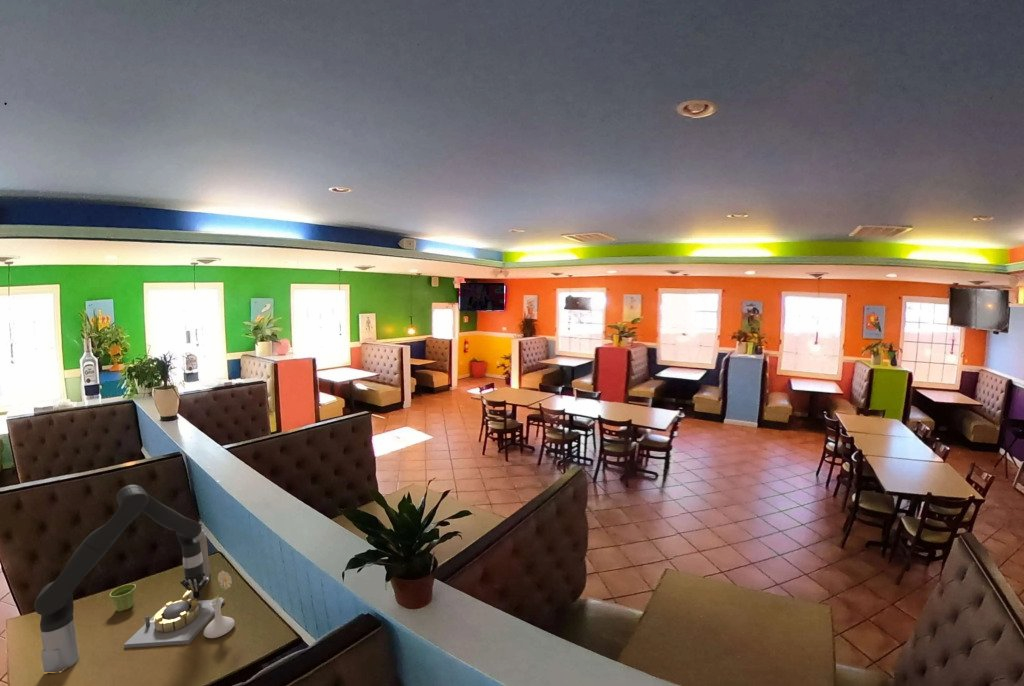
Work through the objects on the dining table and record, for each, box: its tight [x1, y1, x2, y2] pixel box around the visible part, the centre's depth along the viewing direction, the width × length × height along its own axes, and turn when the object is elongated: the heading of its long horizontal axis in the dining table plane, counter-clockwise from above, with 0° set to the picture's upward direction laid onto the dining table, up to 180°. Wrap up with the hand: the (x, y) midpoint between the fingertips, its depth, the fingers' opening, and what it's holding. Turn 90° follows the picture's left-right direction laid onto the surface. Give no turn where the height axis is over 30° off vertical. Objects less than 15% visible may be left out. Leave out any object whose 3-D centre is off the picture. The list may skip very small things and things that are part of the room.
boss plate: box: [123, 598, 226, 649], centre depth 203 cm, size 26×26×8 cm
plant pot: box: [109, 583, 137, 612], centre depth 215 cm, size 9×9×9 cm
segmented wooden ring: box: [153, 589, 199, 632], centre depth 206 cm, size 22×16×5 cm
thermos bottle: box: [195, 523, 211, 578], centre depth 236 cm, size 8×8×28 cm
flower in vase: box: [203, 570, 236, 639], centre depth 197 cm, size 13×11×25 cm
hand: (197, 597), depth 215 cm, fingers closed
